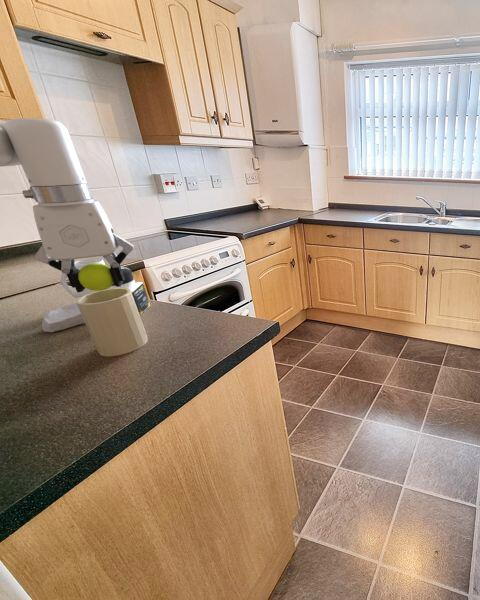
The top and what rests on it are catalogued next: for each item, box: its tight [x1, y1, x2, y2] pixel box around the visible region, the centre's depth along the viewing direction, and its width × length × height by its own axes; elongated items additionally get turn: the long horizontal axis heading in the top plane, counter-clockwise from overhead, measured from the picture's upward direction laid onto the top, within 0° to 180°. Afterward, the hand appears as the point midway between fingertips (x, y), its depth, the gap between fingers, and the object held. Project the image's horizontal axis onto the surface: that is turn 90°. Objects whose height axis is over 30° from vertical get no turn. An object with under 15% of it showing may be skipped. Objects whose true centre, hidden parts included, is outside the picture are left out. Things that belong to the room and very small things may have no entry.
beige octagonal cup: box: [75, 288, 149, 357], centre depth 72 cm, size 9×9×12 cm
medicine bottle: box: [108, 266, 151, 316], centre depth 87 cm, size 7×7×12 cm
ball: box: [78, 263, 114, 291], centre depth 68 cm, size 6×6×6 cm
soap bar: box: [41, 302, 85, 333], centre depth 83 cm, size 10×6×6 cm, turn 144°
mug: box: [60, 257, 106, 299], centre depth 93 cm, size 10×7×12 cm, turn 131°
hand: (101, 286), depth 69 cm, fingers closed on ball, 5 cm apart
